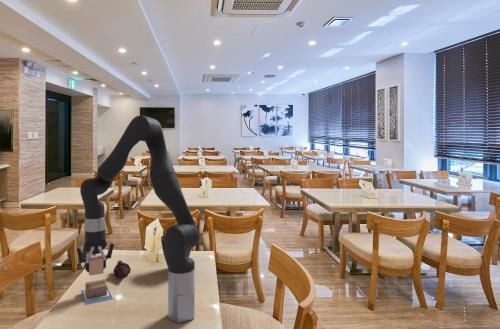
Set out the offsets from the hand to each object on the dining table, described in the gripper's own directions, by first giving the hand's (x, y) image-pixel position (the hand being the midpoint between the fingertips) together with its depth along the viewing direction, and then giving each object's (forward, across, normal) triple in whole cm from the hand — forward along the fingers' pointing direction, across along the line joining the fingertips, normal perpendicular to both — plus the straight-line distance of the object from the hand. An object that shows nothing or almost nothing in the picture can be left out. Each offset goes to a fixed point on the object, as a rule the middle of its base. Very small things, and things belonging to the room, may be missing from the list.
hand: (95, 270), depth 143 cm
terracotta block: (+1, 0, 0) cm, 1 cm away
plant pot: (+10, +37, +10) cm, 40 cm away
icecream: (+10, +12, +13) cm, 21 cm away
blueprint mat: (+10, 0, -1) cm, 10 cm away
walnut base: (+10, 0, 0) cm, 10 cm away
